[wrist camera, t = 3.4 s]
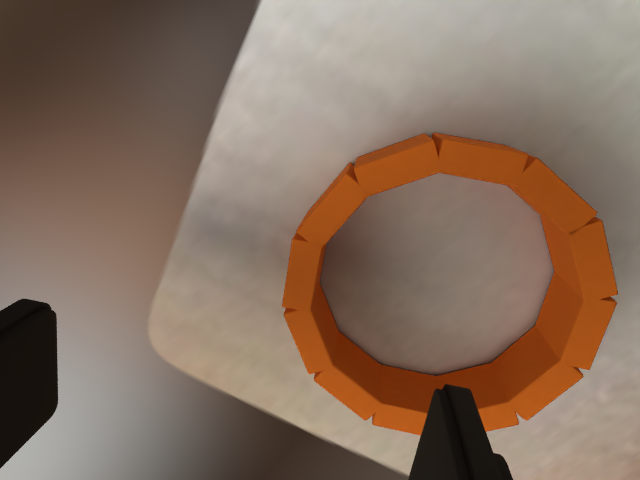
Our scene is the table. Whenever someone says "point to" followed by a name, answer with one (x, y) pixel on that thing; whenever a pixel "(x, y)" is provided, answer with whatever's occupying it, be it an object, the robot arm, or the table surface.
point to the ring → (519, 359)
